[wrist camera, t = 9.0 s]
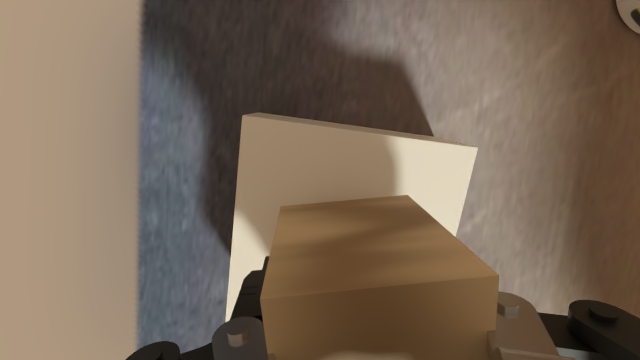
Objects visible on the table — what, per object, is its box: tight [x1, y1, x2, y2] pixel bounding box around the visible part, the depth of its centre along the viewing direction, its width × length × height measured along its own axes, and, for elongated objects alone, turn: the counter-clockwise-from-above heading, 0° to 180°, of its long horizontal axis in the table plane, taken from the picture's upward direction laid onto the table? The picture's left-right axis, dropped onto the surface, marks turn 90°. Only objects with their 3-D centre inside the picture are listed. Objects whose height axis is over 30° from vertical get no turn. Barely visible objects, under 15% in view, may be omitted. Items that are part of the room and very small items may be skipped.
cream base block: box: [226, 112, 478, 322], centre depth 17 cm, size 10×10×5 cm
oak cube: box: [260, 195, 499, 360], centre depth 10 cm, size 5×5×6 cm
